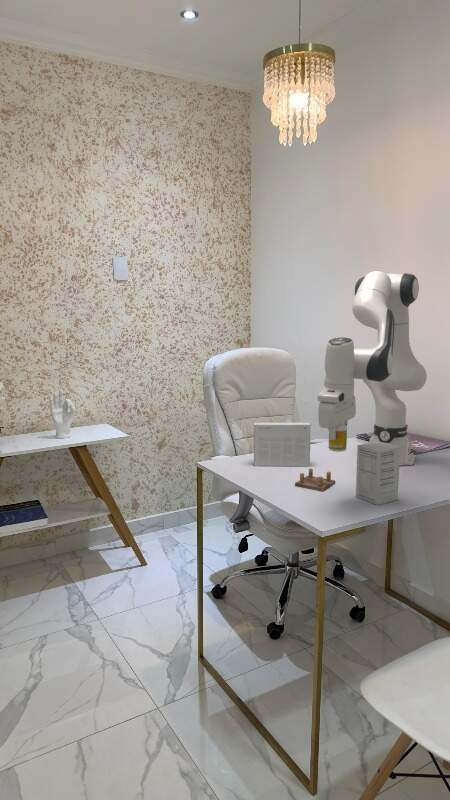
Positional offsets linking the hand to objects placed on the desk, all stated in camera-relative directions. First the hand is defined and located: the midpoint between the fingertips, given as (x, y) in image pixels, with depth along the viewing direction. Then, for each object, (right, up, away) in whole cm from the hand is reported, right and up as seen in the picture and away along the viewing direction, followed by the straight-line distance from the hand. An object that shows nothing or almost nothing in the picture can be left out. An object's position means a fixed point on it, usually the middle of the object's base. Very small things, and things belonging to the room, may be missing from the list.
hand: (337, 437), depth 169 cm
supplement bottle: (0, -4, +1) cm, 4 cm away
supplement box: (+13, -20, +3) cm, 23 cm away
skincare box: (-13, -13, +40) cm, 45 cm away
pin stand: (-4, -17, +17) cm, 24 cm away
